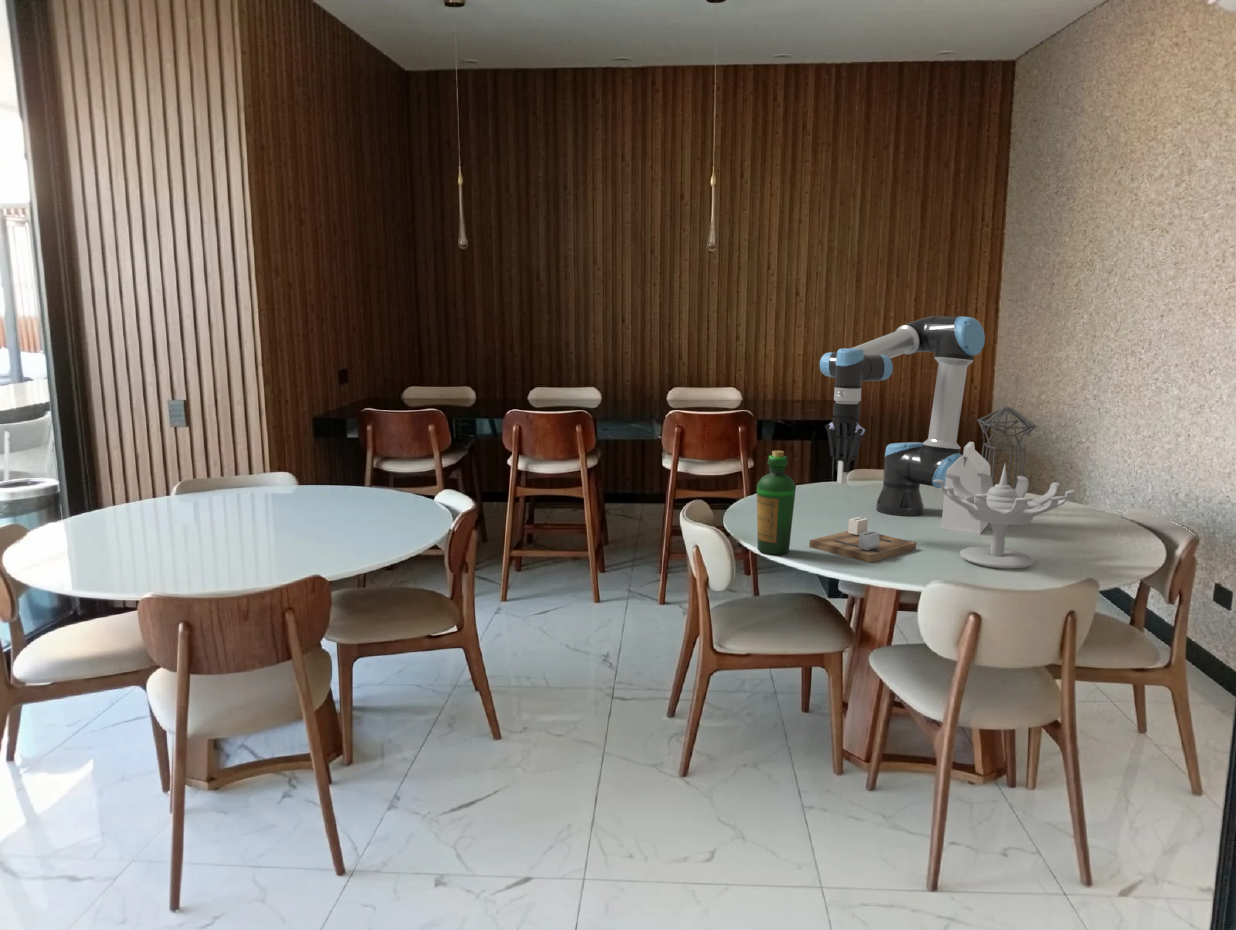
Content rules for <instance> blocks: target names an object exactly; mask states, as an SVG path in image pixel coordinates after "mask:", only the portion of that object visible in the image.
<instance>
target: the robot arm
mask: <svg viewBox="0 0 1236 930" xmlns="http://www.w3.org/2000/svg"><path fill="white" fill-rule="evenodd" d="M985 338H986V335H985V331H984V328H983V326H982V324H981V322H980V321H979V320H977V318H974V317H970V316H964V315H963V316H962V315H961V316H960V315H959V316H946V315H945V316H943V315H941V316H940V315H933V316H932V315H931V316H926V317H923V318H920V319H917V320H913V321H911V322H908V323H905V324H903V325H901V326H898V327H897V329H896V330H895V331H893V332H890V333H887V334H884V335H883V336H879V337H878V338H875V339H872V340H869V341H867V342H864V343H861V344H858V345H856V346H853V347H851V348H849V347H848V348H846V347H843V348H839V349H838V350H837V352H835V351H832V352H830V351H829V352H825V353H824V354H822V356H821V358H820V360H819V369H820V372H821V374H822V375H824V376H825V377H829V378H834V389H833V391H834V393H833V394H834V395H833V401H834V403H833V407H832V408H833V409H832V415H833V417H832V420H831V422H830V423H828V424H825V425H824V428H825V430H826V432H827V438H828V446H829V452H830V457H831V458H834V459H835V460H836V461H835V463H836V464H835V471H836V472H837V476H836V477H837V478H836V483H837V484H846V483H848V473H850V468H851V462H852V461H855V460H857V458H858V455H859V451H860V447H861V444H862V441H863V437H864V435H865V434H866V432H867V428H866V427H865V428H864V427H862V426H861V425H860V421H859V417H860V416H861V415H860V413H861V411H860V410H861V404H860V402H861V401H862V400H861V399H862V385H863V384H862V382H880V381H885V380H888V379H889V378H890V377H891V375H893V369H894V368H893V367H894V366H893V361H892V360H891V359H893V358H895V357H898V356H900V355H903V354H904V355H913V354H915V353H934V359H935V361H936V362H937V363H938V366H937V372H936V378H935V379H936V380H935V386H934V387H935V388H934V395H933V401H932V402H933V403H932V407H931V415H930V416H931V417H930V423H929V429H928V430H929V431H928V438H927V439H926V440H924V441H923V442H919V441H918V442H915V441H913V442H912V441H911V442H909V441H908V442H894V443H893V442H892V443H889V444H887V446H885V447H886V448H885V453H884V460H883V461H884V463H883V464H884V467H883V480H882V481H883V482H882V483H883V485H882V488H881V491H880V493H879V496H878V499H877V501H876V508H875V509H876V511H878V512H880V513H883V514H888V515H894V516H895V515H896V516H907V517H908V516H920V515H922V514H924V503H923V498H922V495H921V491H920V485H922V486H926V487H927V486H929V487H933V488H935V489H941V484H938V483H935V482H934V481H933V480H935V479H939V480H943V485H944V486H945V479H946V472H947V469H948V468H949V467H950V466H951V465H952V464H953V463H954V462H955V461H956V460H957V459H959V458H960V457H961V456H962V455H963V454H961V449H962V448H961V446H960V445H959V443H958V442H957V440H958V433H959V426H960V419H961V413H962V407H963V401H964V400H963V397H964V392H965V385H966V378H967V372H968V371H967V370H968V367H969V366H970V365H971V364H972V363H974V359H975V356H977V355H979V354H980V353H982V350H983V348H984V347H985V341H986V339H985Z"/></svg>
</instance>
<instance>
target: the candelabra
mask: <svg viewBox="0 0 1236 930" xmlns="http://www.w3.org/2000/svg"><path fill="white" fill-rule="evenodd" d="M1006 468H1007V467H1006V463H1004V466H1003V469H1002V472H1001V476H1000V479H999V483H996V484H995V485H994V482H993V483H992V475H990V476H989V475H988V474H984V473H978V474H977V475H978V476H979V477H981V488H982V494H976V495H973V494H971V493H970V492H968V491H967V490H966V489H965V488H964V487H963V486H962V485H961V482H960V477H959V476H956V475H952V474H948V475H946V477H948V478H950V479H953V482H952V483H953V486H954V488H955V489H956V491H957V492H958V493H959V494H960V495H961V496H962V497H963V498H960V497H958V496H956V495H954V489H953V488H952V487H945V486H944V485H943V480H939V479H935V480H933V481H934V482H935V483H938V484H941V488H940V490H941V491H942V494H943V495H944V494H945V495H947V496H948V497H949V498H950V499H951V500H953V501H954V502H956V503H957V504H959V505H961V506H963V507H964V508H966V509H967V510H968V511H969V515H970V516H971V517H972V518H974V519H977V520H979V521H983V522H988V524H990V525H991V530H992V538H991V542H990V546H971V547H966V548H964V549H962V550H960V552H959V556H960V557H961V558H962V559H964V560H965V561H967V562H969V563H972V564H976V565H979V566H984V567H987V568H988V567H989V568H995V569H996V568H997V569H1011V570H1012V569H1023V568H1029V567H1031V566H1033V565H1034V564H1035V559H1034V557H1032V556H1031V555H1029V554H1026V553H1025V552H1023V551H1018V550H1015V549H1012V548H1011V549H1010V548H1005V544H1006V543H1005V534H1006V531H1007V529H1008V526H1020V525H1026V524H1029V523H1031V522H1032V521H1033V519H1034V517H1036V516H1038V515H1040V514H1044V513H1046V512H1047V513H1048V512H1049V511H1051V510H1054V509H1056V508H1058V507H1060V506H1062V505H1064V504H1065V503H1066V502H1067V501H1068V496H1071V495H1074V494H1076V493H1077V490H1075V489H1070V490H1066V491H1065V493H1064V495H1059V496H1058V495H1057V493H1058V488H1060V486H1061V483H1059V482H1057V481H1056V482H1055V481H1054V482H1052V483H1051V484H1050V486H1049V490H1047V492H1046V493H1045V494H1042V496H1040V497H1038V498H1035V499H1034V498H1032V497H1025V496H1026V494H1027V492H1028V490H1029V486H1030V485H1029V482H1030V481H1029V479H1028V478H1027V477H1026V476H1024V477H1023V476H1022V475H1021V476H1019V475H1016V480H1017V481H1016V488H1015V490H1014V487H1013V488H1012V486H1011V485H1010V484H1009V485H1008V484H1007V480H1008V477H1007V470H1006ZM1056 495H1057V496H1056ZM1049 501H1050V502H1049ZM1048 502H1049V503H1048ZM1047 503H1048V504H1047Z"/></svg>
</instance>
